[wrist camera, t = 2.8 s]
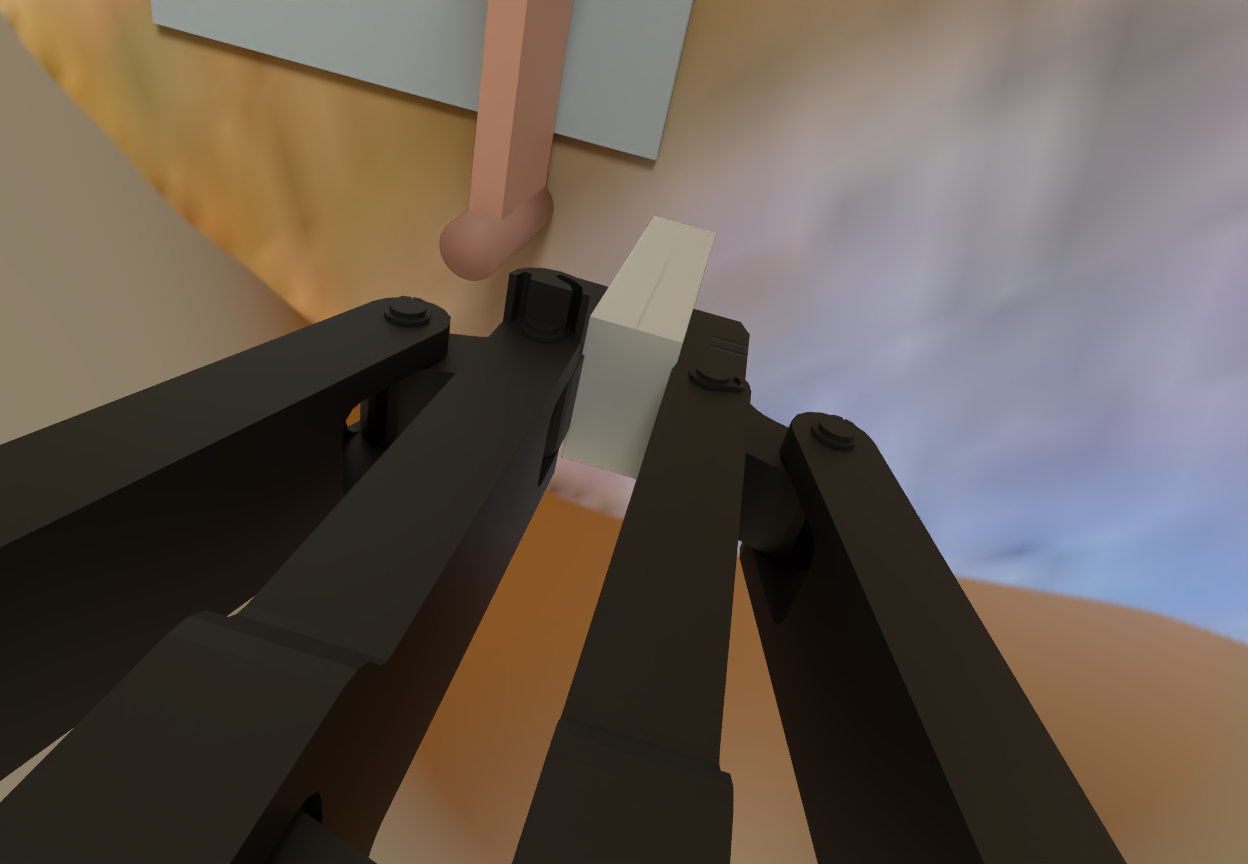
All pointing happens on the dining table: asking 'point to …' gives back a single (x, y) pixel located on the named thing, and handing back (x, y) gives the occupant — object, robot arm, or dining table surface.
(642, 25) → the mat
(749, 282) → the dining table surface
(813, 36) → the dining table surface
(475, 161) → the fence panel
